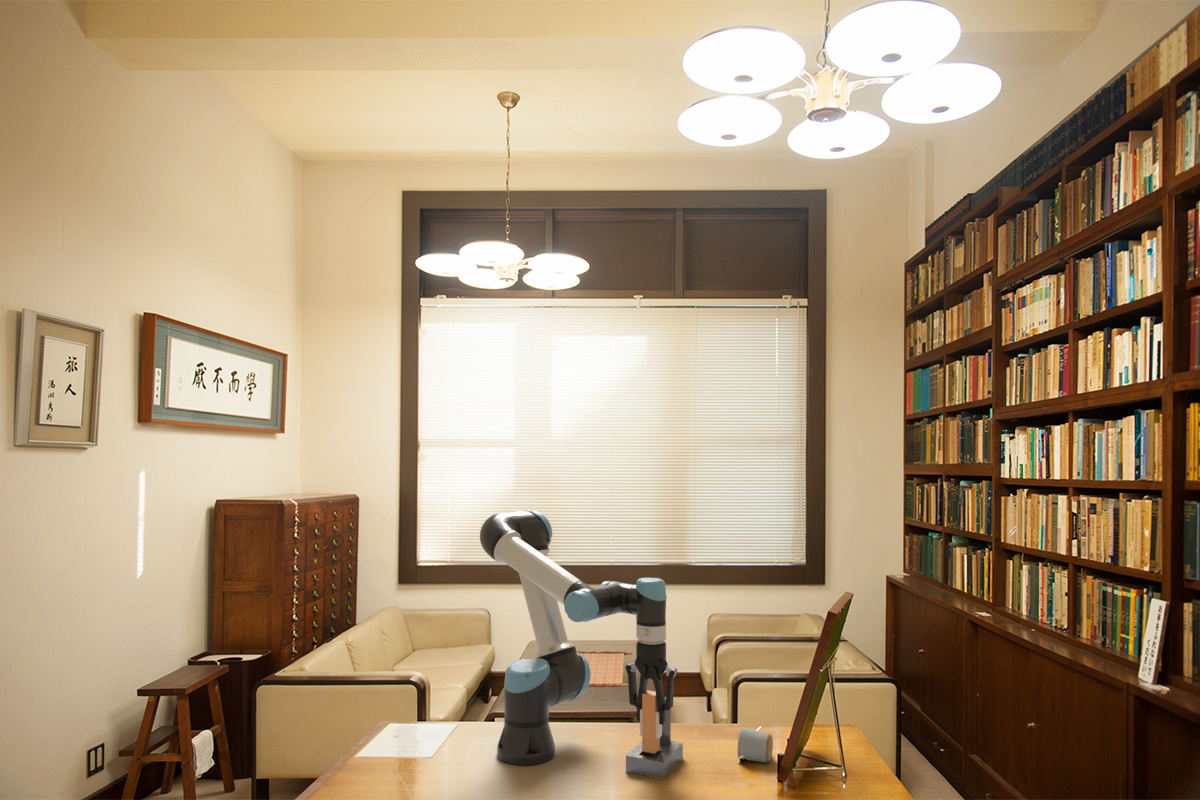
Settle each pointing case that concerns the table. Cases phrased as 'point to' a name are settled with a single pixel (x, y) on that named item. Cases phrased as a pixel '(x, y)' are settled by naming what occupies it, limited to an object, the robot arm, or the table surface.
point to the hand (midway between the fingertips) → (651, 735)
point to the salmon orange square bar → (649, 722)
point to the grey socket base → (656, 755)
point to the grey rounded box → (755, 745)
